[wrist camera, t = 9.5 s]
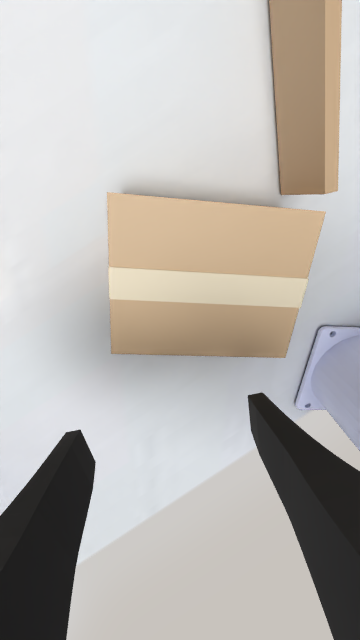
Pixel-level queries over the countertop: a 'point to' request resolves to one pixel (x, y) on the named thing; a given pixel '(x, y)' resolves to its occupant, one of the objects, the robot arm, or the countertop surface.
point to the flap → (307, 93)
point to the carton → (206, 275)
